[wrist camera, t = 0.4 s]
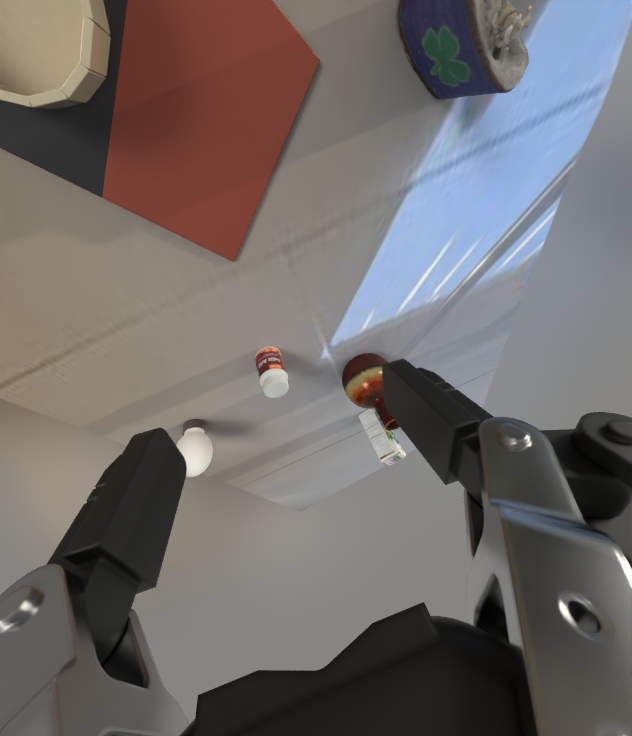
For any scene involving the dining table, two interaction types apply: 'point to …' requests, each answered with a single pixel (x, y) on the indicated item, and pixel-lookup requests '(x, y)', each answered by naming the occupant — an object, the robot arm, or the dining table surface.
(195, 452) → the light bulb
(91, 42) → the bowl
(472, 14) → the flask
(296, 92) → the placemat
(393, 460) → the syrup box
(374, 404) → the vase
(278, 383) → the pill bottle
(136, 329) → the dining table surface
